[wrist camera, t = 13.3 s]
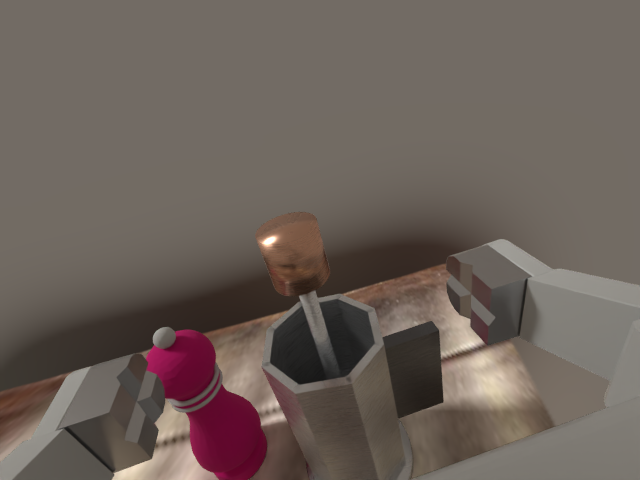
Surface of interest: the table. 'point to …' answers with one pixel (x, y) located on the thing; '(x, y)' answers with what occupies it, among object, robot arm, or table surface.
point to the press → (353, 389)
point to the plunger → (300, 272)
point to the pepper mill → (208, 405)
